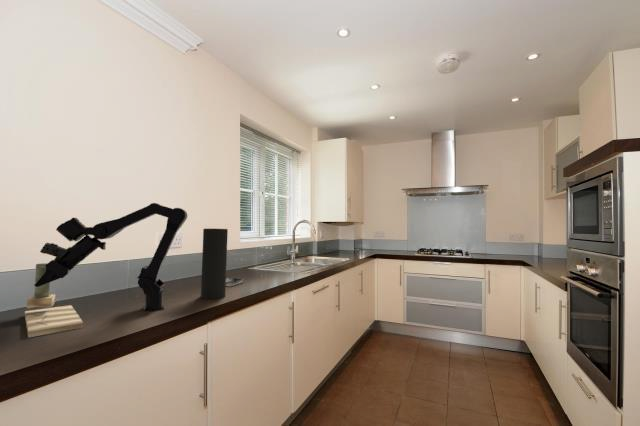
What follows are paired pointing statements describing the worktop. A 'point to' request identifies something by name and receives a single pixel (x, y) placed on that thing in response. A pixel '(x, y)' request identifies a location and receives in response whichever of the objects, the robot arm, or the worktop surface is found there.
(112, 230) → the robot arm
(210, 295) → the vase
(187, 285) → the worktop surface
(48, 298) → the column on wooden base
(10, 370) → the worktop surface
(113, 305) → the worktop surface
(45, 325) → the birch board
